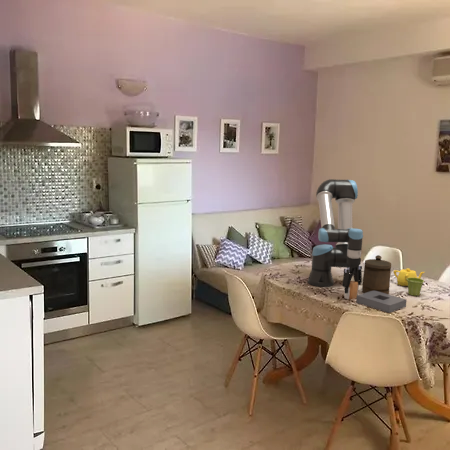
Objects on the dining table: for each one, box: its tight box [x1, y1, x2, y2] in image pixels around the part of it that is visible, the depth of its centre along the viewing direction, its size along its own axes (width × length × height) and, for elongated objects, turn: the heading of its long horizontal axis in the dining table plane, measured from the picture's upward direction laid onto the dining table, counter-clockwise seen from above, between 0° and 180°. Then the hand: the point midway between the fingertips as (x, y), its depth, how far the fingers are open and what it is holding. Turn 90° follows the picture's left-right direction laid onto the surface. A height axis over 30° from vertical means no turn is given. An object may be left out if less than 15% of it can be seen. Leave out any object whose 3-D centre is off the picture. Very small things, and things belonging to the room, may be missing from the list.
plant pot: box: [407, 278, 425, 297], centre depth 295 cm, size 9×9×9 cm
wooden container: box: [361, 255, 392, 295], centre depth 295 cm, size 15×15×22 cm
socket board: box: [355, 290, 408, 314], centre depth 275 cm, size 20×16×4 cm
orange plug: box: [348, 279, 359, 300], centre depth 286 cm, size 4×4×9 cm
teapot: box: [393, 268, 425, 287], centre depth 313 cm, size 14×13×10 cm
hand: (351, 297), depth 286 cm, fingers open, 7 cm apart
